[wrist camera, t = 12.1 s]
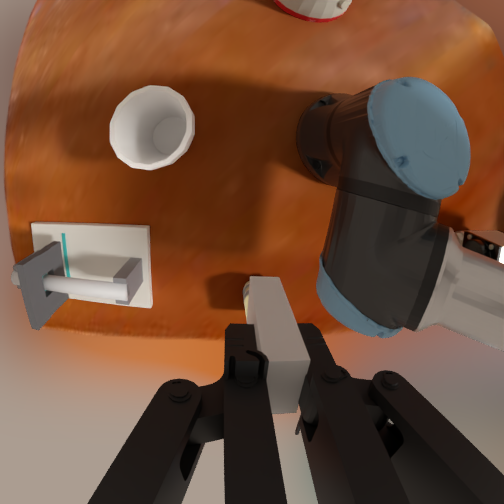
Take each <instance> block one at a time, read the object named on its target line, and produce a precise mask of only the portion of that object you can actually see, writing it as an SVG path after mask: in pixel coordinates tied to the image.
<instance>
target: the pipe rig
mask: <svg viewBox="0 0 504 504" xmlns="http://www.w3.org/2000/svg"><path fill="white" fill-rule="evenodd" d="M31 227H32V237H33V245H34V253H36V252H37V251H39V250H41V249H42V248H44V247H45V246H46V245H48V244H50V243H51V242H53V241H60V242H61V250H62V258H63V265H64V272H65V277H63V276H55V275H48V274H47V273H46V274H45V275H44V276H42V279H43V284H44V289H45V291H47V290H48V291H55V292H61V293H68V295H69V298H71V299H78V300H85V301H92V302H100V303H108V304H116V305H125V306H134V307H143V308H151V307H152V305H153V299H152V284H151V263H150V226H148V225H125V224H99V223H68V222H34V223H32V224H31ZM34 253H33V254H34ZM33 254H31V255H33ZM29 256H30V255H29ZM26 258H27V257H26ZM21 261H22V260H21ZM18 263H19V262H18ZM13 269H14V271H13V272H12V274H11V281H12V283H13V284H14V285H17V286H18V288H19V289H21V287H20V283H19V278H18V273H17V268H16V264H15V265H14V266H13Z"/></svg>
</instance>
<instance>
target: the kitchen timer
mask: <svg viewBox="0 0 504 504" xmlns="http://www.w3.org/2000/svg"><path fill="white" fill-rule="evenodd" d="M274 2H275V3H276V5H278V6H279V7H280V8H281V9H282V10H283V11H285V12H287V13H288V14H290V15H292V16H294V17H296V18H299V19H302V20H305V21H311V22H329V21H332V20H335V19H337V18H338V17H340V16H341V15H342V14H343V13H344V12H345V11H346V10H347V8H348V6H349V5H350V3H351V2H352V0H274Z"/></svg>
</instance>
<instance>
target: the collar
mask: <svg viewBox="0 0 504 504" xmlns="http://www.w3.org/2000/svg"><path fill="white" fill-rule="evenodd" d="M16 268H17V273H18V278H19V283H20V287H21V291H22V295H23V299H24V303H25V307H26V310H27V314H28V317H29V321H30V324H31V327H32V328H33V329H36V330H40V328H41V327H42V326H43V325H44V324H45V323H46V322H47V321H48V319H49V318H50V317H51V315H52V314H53V313H54V312H55V311H56V310H57V309H58V308H59V307H60V306H61V305H62V304H63V303H64V302H65V301H66V300H67V299H68V298H69V295H68V293H61V292H55V291H48V290H47V291H45V289H44V284H43V279H42V276H44V275H45V274H46V273H47V274H48V275H55V276H63V277H65V272H64V265H63V258H62V250H61V242H60V241H53V242H51V243H50V244H48V245H46V246H45V247H44V248H42V249H41V250H39V251H37V252H36V253H34V254H33V255H30V256H28V257H27V258H25V259H23V260H22V261H20V262H19V263H17V264H16Z"/></svg>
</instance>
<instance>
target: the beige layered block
mask: <svg viewBox="0 0 504 504" xmlns="http://www.w3.org/2000/svg"><path fill="white" fill-rule="evenodd" d="M249 283H250V281H248V282H247V283H246V284H245V287H244V288H243V298H244V306H245V313H246V319H247V311H248V297H249Z"/></svg>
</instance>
